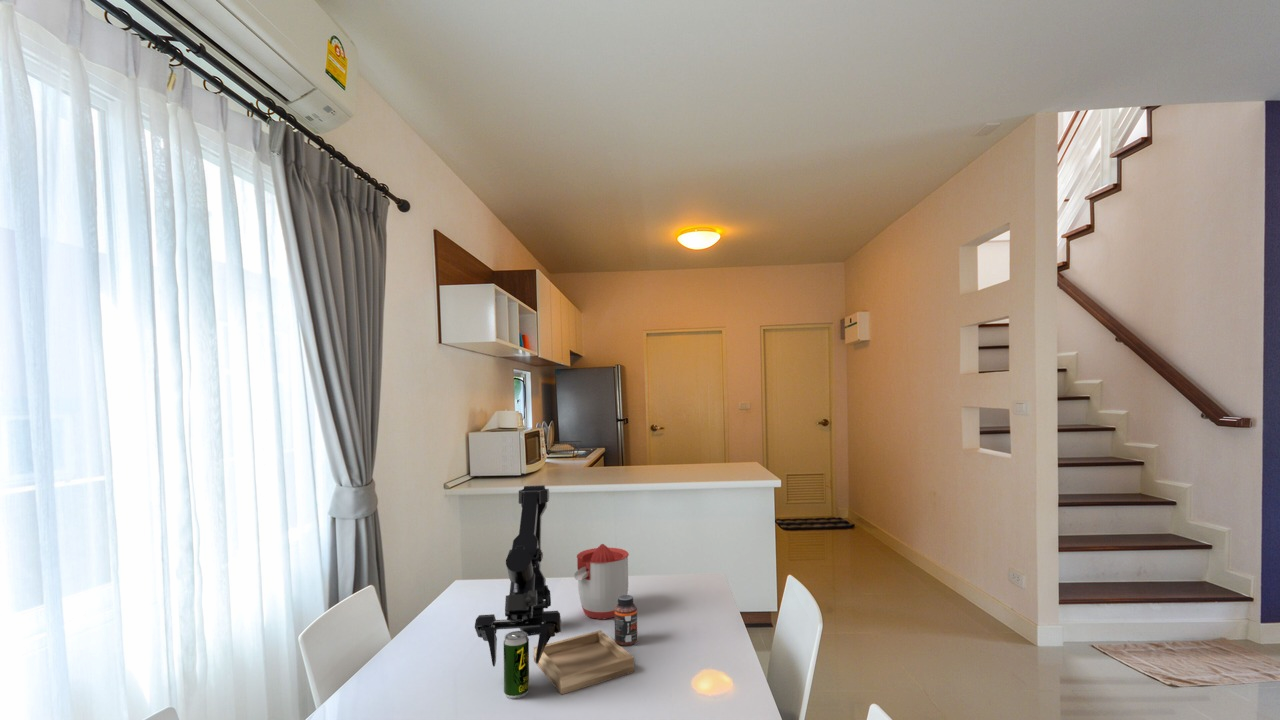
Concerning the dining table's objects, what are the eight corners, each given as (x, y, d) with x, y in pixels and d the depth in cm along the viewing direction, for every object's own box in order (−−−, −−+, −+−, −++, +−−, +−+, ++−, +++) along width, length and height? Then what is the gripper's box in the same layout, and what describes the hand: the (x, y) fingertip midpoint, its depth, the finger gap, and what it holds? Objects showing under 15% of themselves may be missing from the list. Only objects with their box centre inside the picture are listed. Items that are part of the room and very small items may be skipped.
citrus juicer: (562, 614, 161) (561, 545, 162) (608, 598, 172) (606, 534, 174) (594, 629, 149) (592, 555, 151) (640, 612, 161) (639, 543, 162)
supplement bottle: (635, 647, 137) (633, 601, 138) (612, 646, 139) (611, 600, 140) (639, 637, 143) (638, 593, 144) (618, 636, 144) (617, 592, 145)
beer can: (498, 697, 115) (498, 639, 116) (512, 684, 121) (511, 629, 122) (521, 701, 114) (520, 642, 115) (533, 688, 119) (533, 631, 120)
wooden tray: (533, 661, 132) (533, 647, 132) (600, 642, 141) (600, 630, 141) (561, 694, 116) (561, 679, 116) (634, 671, 125) (634, 657, 125)
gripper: (476, 578, 122) (464, 651, 110) (559, 574, 124) (556, 645, 112) (483, 602, 129) (473, 672, 118) (562, 597, 131) (559, 667, 119)
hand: (515, 664), depth 116 cm, fingers open, 9 cm apart
